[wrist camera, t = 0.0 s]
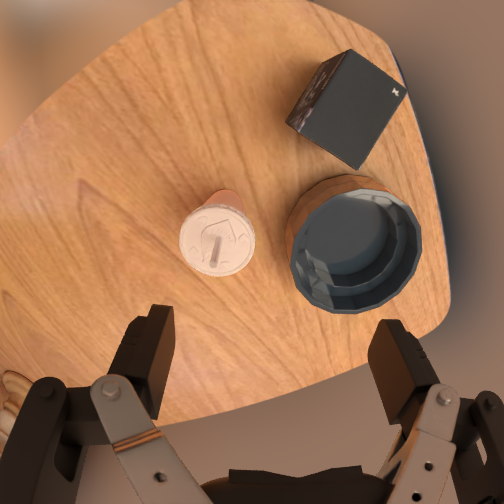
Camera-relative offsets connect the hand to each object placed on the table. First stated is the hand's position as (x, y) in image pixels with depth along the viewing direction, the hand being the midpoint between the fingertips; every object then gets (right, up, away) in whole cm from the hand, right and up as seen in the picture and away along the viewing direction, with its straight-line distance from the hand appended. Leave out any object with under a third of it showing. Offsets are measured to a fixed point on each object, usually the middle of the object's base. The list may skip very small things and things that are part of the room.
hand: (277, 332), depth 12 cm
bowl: (+10, +5, +24) cm, 27 cm away
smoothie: (-4, +8, +23) cm, 25 cm away
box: (+7, +18, +18) cm, 26 cm away
